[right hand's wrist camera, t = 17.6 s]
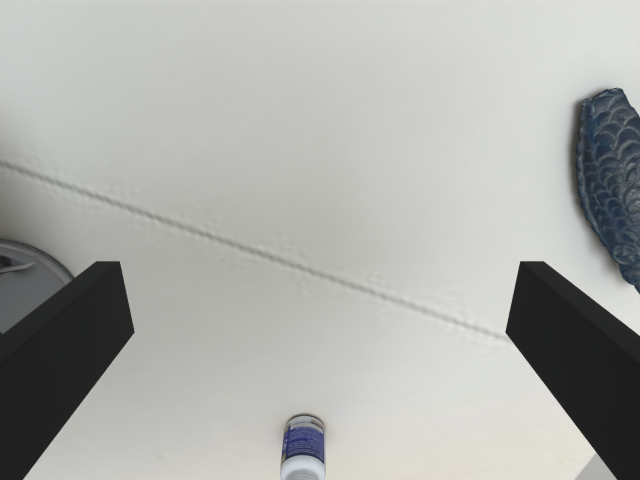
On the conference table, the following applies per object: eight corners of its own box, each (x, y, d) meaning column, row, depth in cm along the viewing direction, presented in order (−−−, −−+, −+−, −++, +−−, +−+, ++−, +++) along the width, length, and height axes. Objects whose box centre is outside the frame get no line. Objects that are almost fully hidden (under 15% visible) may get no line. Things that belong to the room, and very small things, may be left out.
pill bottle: (279, 418, 49) (271, 485, 40) (320, 411, 48) (320, 478, 40) (290, 448, 51) (284, 518, 42) (329, 441, 50) (331, 511, 42)
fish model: (598, 294, 42) (633, 319, 37) (548, 113, 35) (583, 116, 31) (661, 269, 41) (705, 291, 36) (622, 77, 34) (670, 75, 30)
